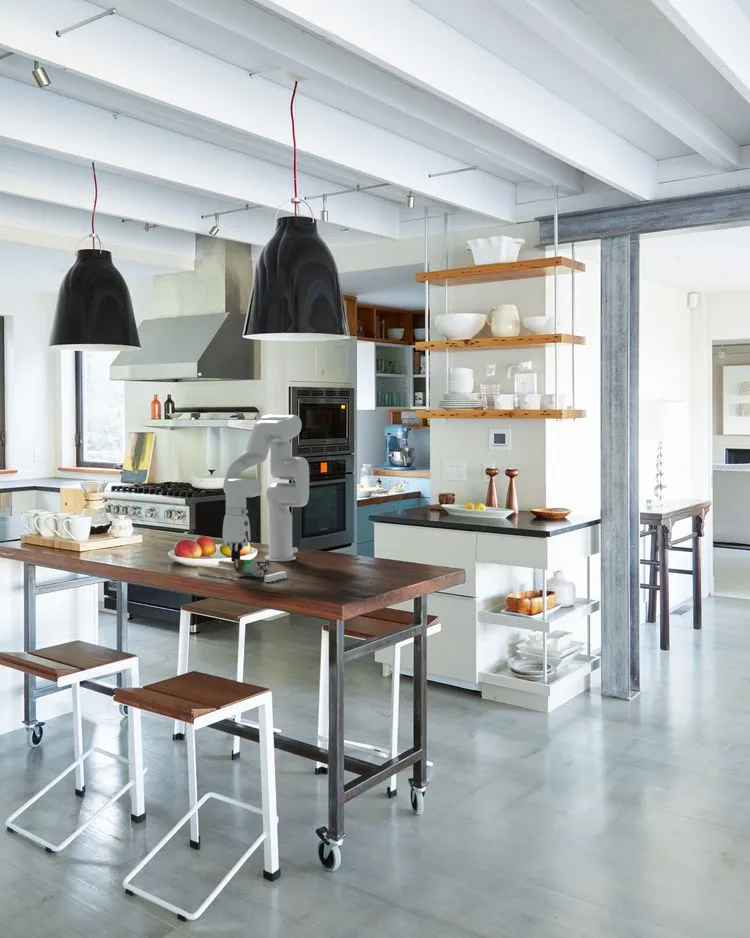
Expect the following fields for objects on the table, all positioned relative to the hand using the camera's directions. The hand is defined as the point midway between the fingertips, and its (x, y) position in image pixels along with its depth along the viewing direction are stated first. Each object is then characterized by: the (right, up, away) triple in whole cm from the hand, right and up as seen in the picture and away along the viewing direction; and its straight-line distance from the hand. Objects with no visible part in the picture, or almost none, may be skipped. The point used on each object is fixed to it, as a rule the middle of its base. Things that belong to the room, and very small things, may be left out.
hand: (235, 561), depth 337 cm
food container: (+1, -2, 0) cm, 3 cm away
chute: (-3, -5, +3) cm, 7 cm away
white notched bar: (+16, -6, -8) cm, 19 cm away
